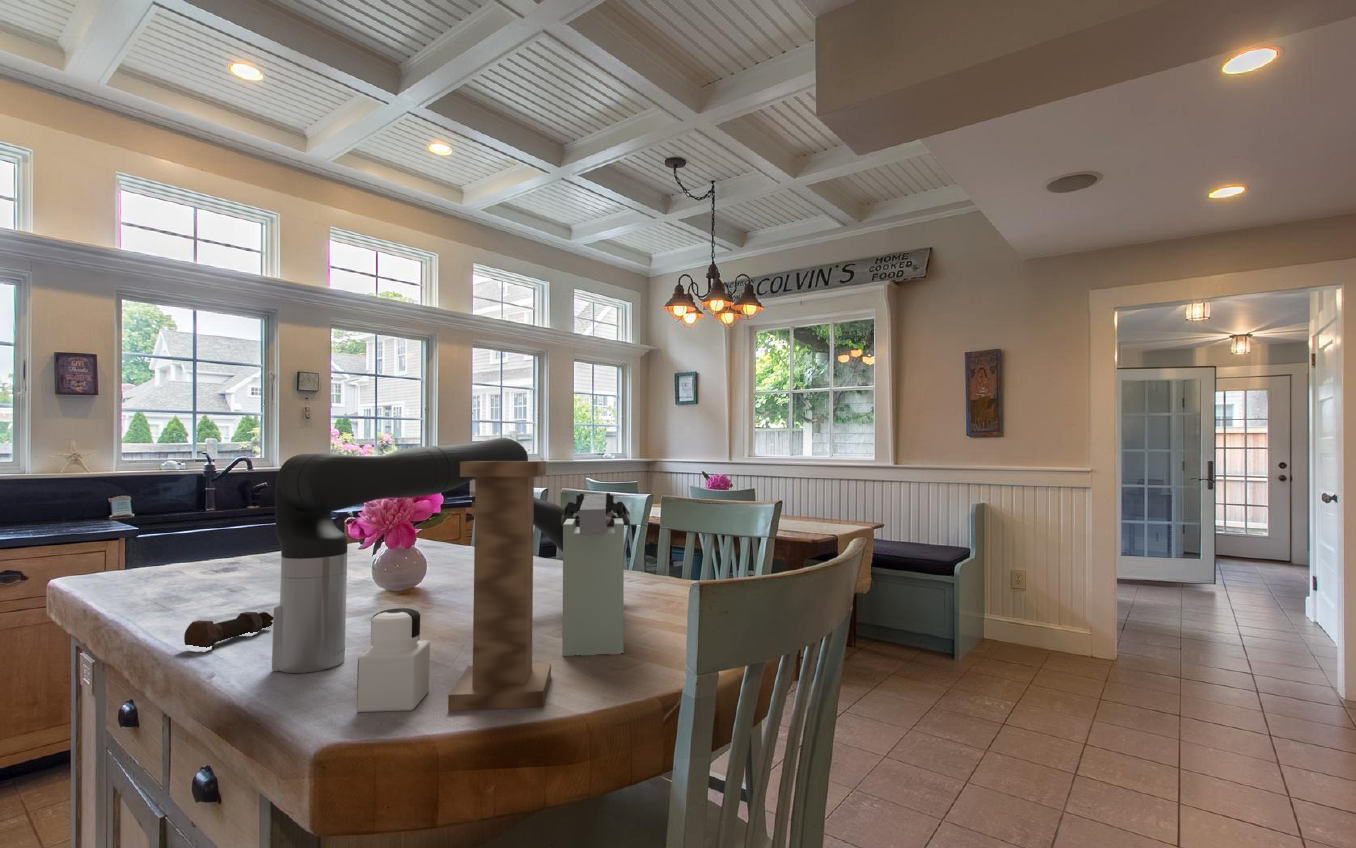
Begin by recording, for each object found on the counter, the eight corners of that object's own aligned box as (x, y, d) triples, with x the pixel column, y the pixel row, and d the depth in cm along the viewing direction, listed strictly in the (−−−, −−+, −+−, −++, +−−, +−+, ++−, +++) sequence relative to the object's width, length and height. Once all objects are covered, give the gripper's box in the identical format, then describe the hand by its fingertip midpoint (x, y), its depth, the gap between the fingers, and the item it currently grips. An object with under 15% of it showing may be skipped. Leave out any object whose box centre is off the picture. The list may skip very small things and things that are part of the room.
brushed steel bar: (579, 535, 102) (579, 509, 102) (585, 515, 125) (585, 494, 126) (605, 534, 102) (605, 509, 102) (605, 514, 126) (606, 494, 126)
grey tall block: (562, 656, 107) (563, 524, 108) (566, 639, 117) (566, 518, 118) (623, 654, 108) (623, 523, 109) (622, 637, 118) (622, 518, 119)
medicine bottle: (376, 693, 90) (378, 605, 91) (429, 691, 91) (431, 604, 91) (355, 713, 83) (357, 618, 84) (413, 711, 84) (415, 616, 84)
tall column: (448, 711, 84) (452, 461, 86) (467, 679, 96) (471, 461, 97) (543, 706, 85) (545, 461, 87) (550, 676, 97) (552, 461, 99)
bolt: (269, 640, 124) (198, 661, 110) (251, 625, 125) (177, 644, 111) (284, 613, 124) (215, 631, 110) (265, 599, 125) (194, 614, 111)
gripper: (561, 518, 136) (556, 479, 122) (630, 517, 137) (633, 479, 123) (560, 552, 132) (554, 516, 118) (630, 551, 133) (634, 515, 119)
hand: (595, 497), depth 120 cm, fingers open, 4 cm apart
